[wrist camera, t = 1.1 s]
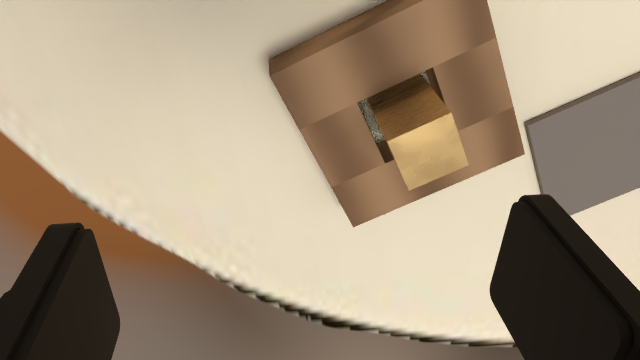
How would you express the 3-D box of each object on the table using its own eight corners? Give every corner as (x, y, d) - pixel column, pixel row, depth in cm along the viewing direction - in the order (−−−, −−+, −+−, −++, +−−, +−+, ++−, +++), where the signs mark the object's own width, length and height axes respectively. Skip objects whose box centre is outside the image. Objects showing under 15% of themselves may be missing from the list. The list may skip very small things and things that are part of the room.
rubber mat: (665, 60, 36) (670, 63, 36) (669, 170, 42) (674, 173, 42) (524, 122, 38) (528, 125, 37) (547, 219, 44) (550, 223, 43)
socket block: (462, -36, 31) (479, -28, 28) (507, 135, 38) (524, 154, 36) (268, 59, 33) (269, 75, 30) (347, 204, 40) (353, 227, 38)
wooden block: (413, 65, 34) (451, 112, 28) (430, 110, 36) (468, 165, 30) (362, 89, 35) (387, 141, 28) (381, 133, 37) (408, 190, 30)
